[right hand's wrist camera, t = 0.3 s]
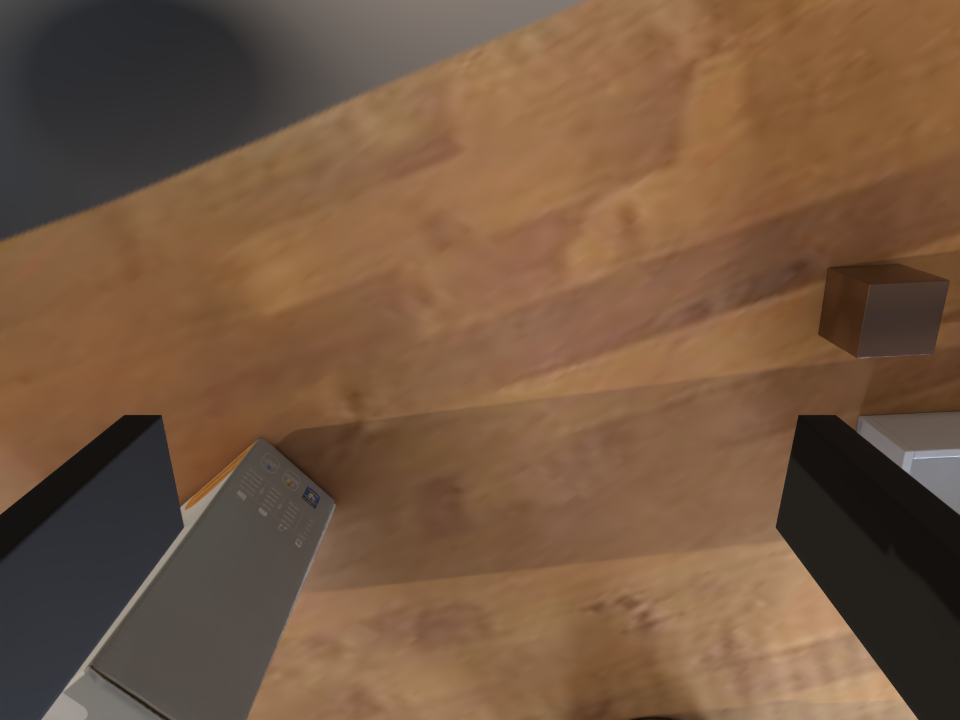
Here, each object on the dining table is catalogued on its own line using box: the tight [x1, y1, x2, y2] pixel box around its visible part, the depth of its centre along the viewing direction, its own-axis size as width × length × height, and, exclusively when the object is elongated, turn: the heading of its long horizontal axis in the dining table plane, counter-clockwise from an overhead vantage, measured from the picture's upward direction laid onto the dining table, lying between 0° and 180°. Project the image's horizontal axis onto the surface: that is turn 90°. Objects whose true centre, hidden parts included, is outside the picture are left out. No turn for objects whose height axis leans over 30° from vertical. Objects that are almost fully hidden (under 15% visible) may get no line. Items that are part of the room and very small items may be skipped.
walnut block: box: [819, 264, 949, 358], centre depth 38 cm, size 4×4×4 cm
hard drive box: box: [42, 438, 336, 720], centre depth 36 cm, size 16×8×20 cm, turn 131°
